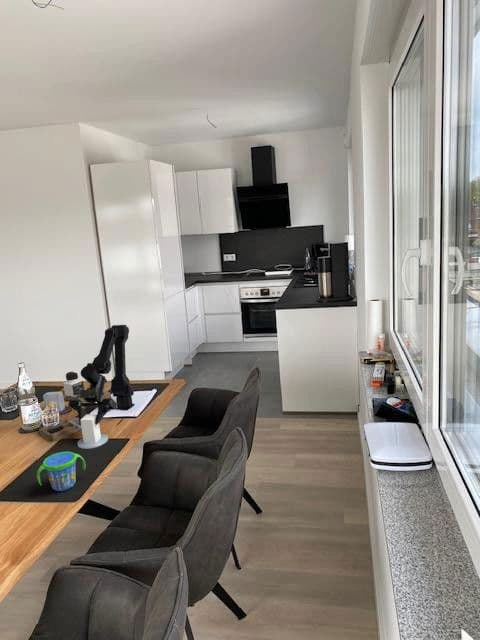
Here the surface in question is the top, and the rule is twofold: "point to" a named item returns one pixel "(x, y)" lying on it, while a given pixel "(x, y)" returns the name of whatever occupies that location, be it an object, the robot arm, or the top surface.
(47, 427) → the walnut channel
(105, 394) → the brown round slab
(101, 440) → the pad
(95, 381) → the robot arm
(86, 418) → the white block
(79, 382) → the medicine bottle
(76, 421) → the trap pit
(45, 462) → the snack cup
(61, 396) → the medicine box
